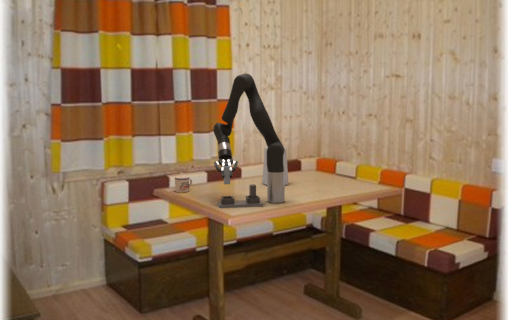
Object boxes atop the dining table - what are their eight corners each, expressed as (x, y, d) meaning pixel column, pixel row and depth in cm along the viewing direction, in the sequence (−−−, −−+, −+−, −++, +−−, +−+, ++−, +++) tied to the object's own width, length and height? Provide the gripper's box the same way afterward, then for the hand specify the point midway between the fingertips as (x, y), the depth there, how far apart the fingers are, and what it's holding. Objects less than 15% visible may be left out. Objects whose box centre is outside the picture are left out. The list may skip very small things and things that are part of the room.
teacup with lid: (180, 193, 327) (180, 174, 325) (171, 191, 334) (171, 172, 332) (196, 190, 335) (196, 172, 334) (187, 188, 342) (187, 170, 340)
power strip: (260, 202, 303) (260, 183, 301) (263, 206, 293) (263, 186, 291) (217, 203, 299) (217, 184, 297) (219, 208, 289) (219, 187, 288)
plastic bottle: (290, 185, 351) (290, 143, 347) (269, 187, 346) (269, 144, 342) (280, 181, 365) (281, 140, 361) (260, 183, 360) (260, 141, 356)
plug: (229, 183, 298) (229, 166, 296) (230, 184, 294) (229, 167, 293) (223, 183, 297) (223, 166, 296) (224, 184, 294) (224, 167, 292)
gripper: (212, 148, 299) (214, 173, 289) (237, 147, 301) (240, 172, 291) (212, 156, 305) (214, 181, 295) (236, 155, 307) (239, 180, 297)
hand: (227, 177), depth 293 cm, fingers closed on plug, 3 cm apart
